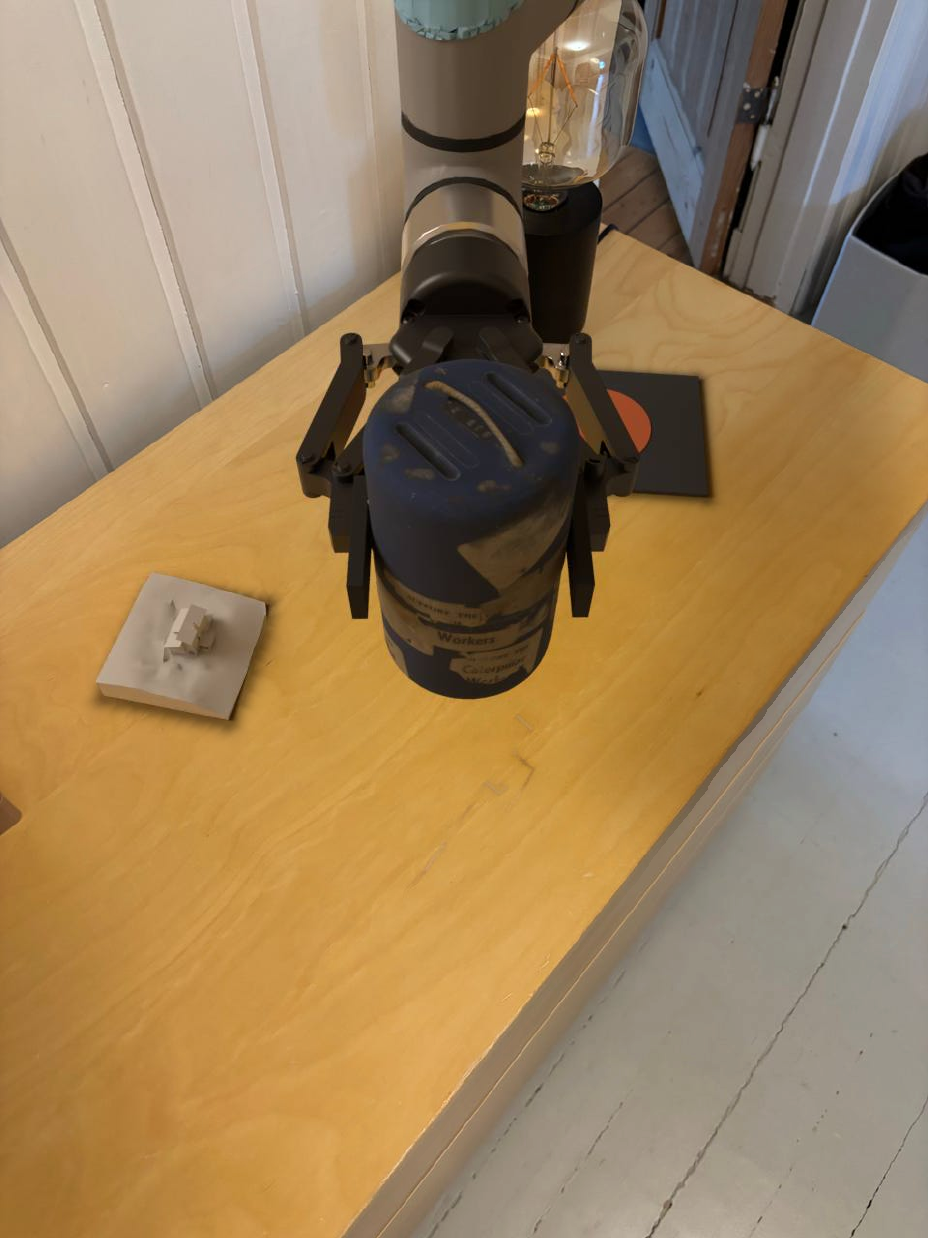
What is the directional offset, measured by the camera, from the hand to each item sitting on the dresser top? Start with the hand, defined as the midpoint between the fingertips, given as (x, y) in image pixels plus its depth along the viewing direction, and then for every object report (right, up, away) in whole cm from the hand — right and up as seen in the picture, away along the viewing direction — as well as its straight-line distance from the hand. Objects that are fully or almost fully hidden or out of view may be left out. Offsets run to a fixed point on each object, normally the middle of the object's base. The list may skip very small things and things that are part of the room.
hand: (470, 602), depth 43 cm
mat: (+11, +16, +38) cm, 43 cm away
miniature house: (-21, -3, +26) cm, 34 cm away
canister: (0, -2, +11) cm, 11 cm away
